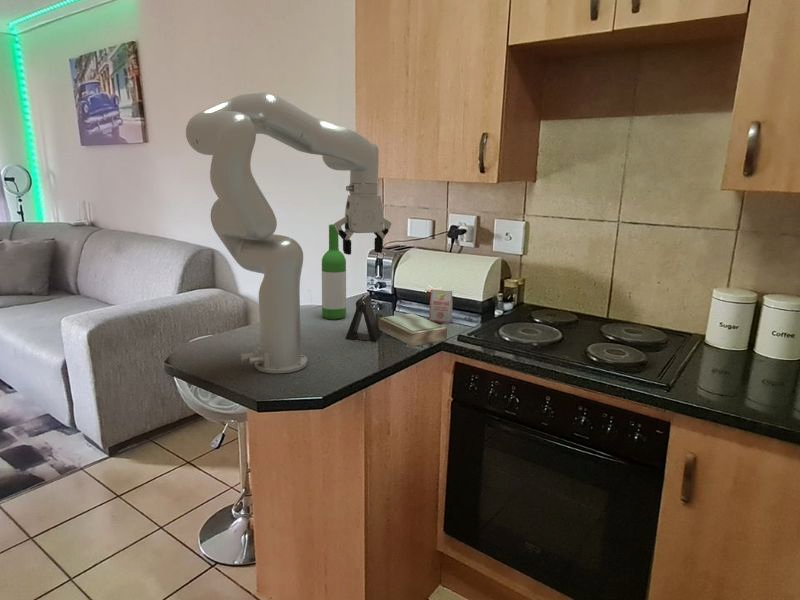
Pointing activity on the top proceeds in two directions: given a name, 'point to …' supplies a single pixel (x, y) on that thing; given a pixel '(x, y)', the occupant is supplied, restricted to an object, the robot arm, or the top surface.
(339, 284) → the wine bottle
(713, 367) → the top surface
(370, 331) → the dark brown arched piece
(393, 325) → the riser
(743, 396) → the top surface
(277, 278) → the robot arm
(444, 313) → the small printed carton
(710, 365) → the top surface
